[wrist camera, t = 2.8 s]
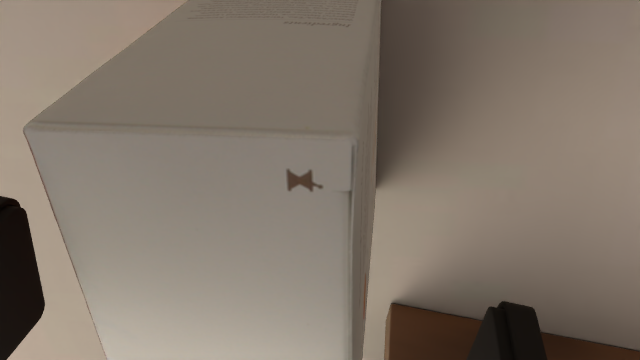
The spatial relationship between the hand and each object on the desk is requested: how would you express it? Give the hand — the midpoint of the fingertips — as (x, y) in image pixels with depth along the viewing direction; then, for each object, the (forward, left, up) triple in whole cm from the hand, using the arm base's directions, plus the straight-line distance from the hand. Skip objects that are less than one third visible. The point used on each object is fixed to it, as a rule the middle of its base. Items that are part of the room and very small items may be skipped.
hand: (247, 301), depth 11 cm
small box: (-1, 0, -10) cm, 10 cm away
